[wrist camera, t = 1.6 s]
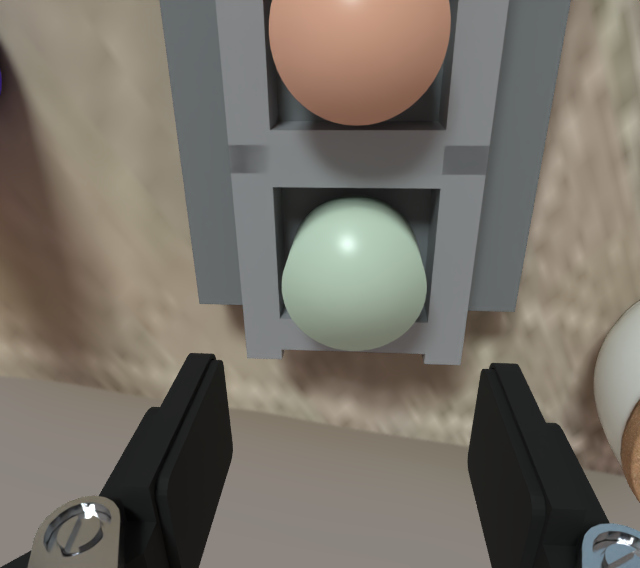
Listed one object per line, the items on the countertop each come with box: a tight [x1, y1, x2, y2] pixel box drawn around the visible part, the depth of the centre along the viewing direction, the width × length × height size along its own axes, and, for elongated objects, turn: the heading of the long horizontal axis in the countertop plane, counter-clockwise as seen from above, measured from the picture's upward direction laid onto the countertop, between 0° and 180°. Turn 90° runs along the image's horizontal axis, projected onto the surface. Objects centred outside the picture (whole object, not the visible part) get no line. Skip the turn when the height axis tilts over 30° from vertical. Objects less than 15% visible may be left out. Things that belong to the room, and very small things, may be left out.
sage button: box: [282, 195, 427, 351], centre depth 19 cm, size 5×5×3 cm
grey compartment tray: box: [160, 0, 571, 365], centre depth 18 cm, size 14×25×5 cm, turn 1°
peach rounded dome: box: [269, 0, 451, 126], centre depth 15 cm, size 5×5×3 cm
